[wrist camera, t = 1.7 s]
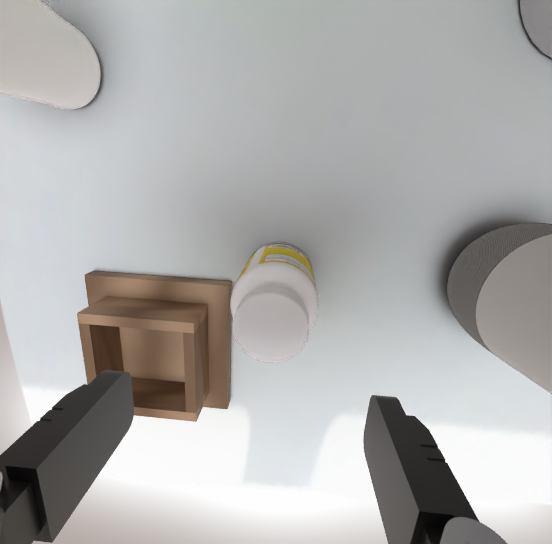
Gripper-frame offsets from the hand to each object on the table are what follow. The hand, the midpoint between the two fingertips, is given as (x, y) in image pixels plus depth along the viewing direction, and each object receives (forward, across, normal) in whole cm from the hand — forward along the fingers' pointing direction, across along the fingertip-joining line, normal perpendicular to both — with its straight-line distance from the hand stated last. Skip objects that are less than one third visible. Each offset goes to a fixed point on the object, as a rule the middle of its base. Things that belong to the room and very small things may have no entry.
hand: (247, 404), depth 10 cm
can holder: (+15, +10, +7) cm, 19 cm away
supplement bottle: (+15, 0, 0) cm, 16 cm away
